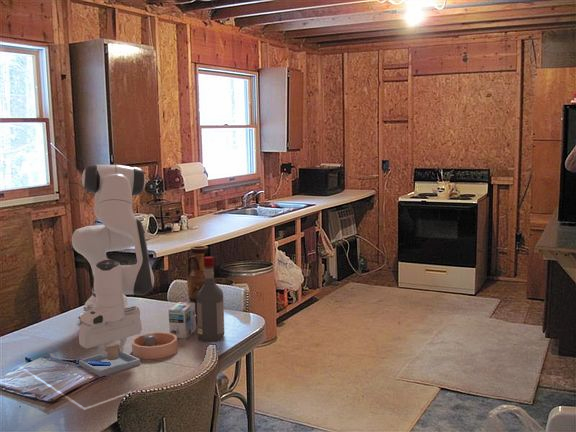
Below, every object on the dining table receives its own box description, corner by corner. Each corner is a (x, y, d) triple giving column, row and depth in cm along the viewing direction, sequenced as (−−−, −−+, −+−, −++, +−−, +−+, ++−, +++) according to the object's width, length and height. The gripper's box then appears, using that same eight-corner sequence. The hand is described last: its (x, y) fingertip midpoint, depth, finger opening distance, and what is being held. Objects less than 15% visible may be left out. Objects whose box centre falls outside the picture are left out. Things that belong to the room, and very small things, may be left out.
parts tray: (79, 366, 194) (78, 360, 194) (118, 355, 204) (117, 348, 203) (100, 378, 184) (100, 371, 184) (140, 365, 194) (140, 359, 194)
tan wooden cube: (104, 357, 192) (103, 345, 191) (115, 354, 195) (114, 342, 194) (110, 361, 189) (109, 349, 188) (121, 357, 192) (121, 345, 191)
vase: (218, 317, 244) (215, 244, 240) (212, 325, 234) (209, 249, 230) (192, 316, 245) (189, 244, 241) (184, 325, 235) (181, 249, 231)
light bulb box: (186, 338, 219) (185, 310, 217) (169, 338, 220) (167, 309, 219) (196, 329, 229) (195, 302, 228) (179, 328, 231) (178, 301, 229)
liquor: (224, 333, 224) (222, 254, 220) (223, 342, 215) (220, 259, 211) (200, 334, 224) (197, 255, 219) (197, 342, 215) (194, 260, 210)
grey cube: (141, 347, 208) (141, 336, 207) (151, 344, 211) (151, 333, 210) (148, 350, 205) (147, 338, 204) (158, 347, 208) (157, 336, 207)
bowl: (124, 352, 206) (123, 340, 205) (161, 341, 216) (160, 329, 216) (148, 363, 195) (147, 350, 195) (186, 351, 206) (185, 339, 205)
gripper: (134, 302, 199) (136, 342, 201) (75, 317, 185) (78, 360, 187) (144, 306, 194) (146, 347, 197) (84, 321, 180) (87, 365, 182)
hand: (112, 353), depth 192 cm, fingers closed on tan wooden cube, 4 cm apart
